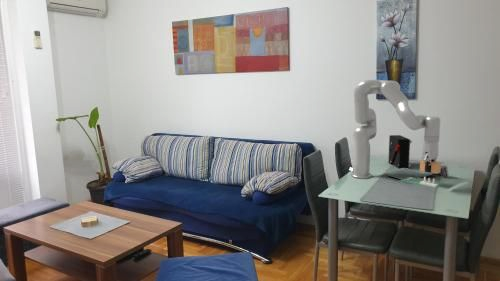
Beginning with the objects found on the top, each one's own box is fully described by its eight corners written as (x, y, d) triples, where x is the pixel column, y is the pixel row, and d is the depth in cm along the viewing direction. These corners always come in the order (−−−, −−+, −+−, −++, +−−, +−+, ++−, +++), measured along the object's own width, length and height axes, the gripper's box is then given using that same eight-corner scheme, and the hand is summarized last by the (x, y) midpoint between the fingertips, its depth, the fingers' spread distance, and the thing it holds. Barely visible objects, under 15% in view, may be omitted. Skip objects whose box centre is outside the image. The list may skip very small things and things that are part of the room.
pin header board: (398, 183, 230) (399, 173, 229) (410, 178, 238) (411, 169, 238) (436, 191, 213) (436, 181, 212) (447, 185, 222) (448, 176, 221)
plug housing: (419, 170, 221) (420, 161, 220) (423, 169, 223) (423, 159, 223) (436, 173, 213) (437, 163, 212) (440, 172, 216) (441, 162, 215)
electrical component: (411, 168, 263) (412, 139, 259) (396, 168, 263) (397, 139, 260) (401, 162, 280) (403, 135, 277) (387, 162, 280) (388, 135, 277)
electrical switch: (449, 179, 234) (449, 164, 233) (442, 181, 233) (442, 166, 231) (437, 176, 243) (437, 161, 241) (430, 177, 242) (430, 163, 240)
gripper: (432, 136, 224) (430, 167, 227) (417, 140, 213) (416, 172, 216) (445, 137, 218) (443, 169, 221) (431, 141, 207) (429, 175, 210)
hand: (429, 170), depth 218 cm, fingers closed on plug housing, 4 cm apart
